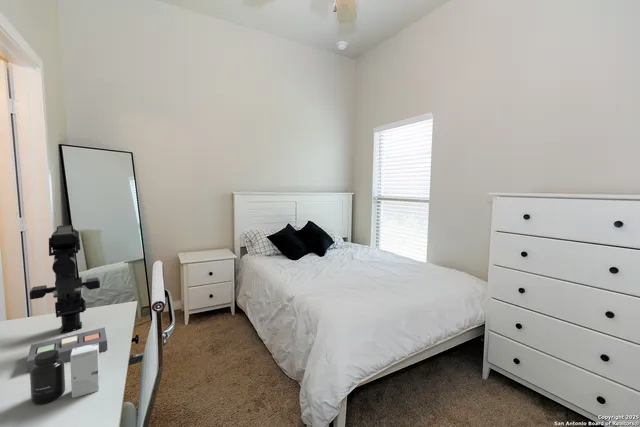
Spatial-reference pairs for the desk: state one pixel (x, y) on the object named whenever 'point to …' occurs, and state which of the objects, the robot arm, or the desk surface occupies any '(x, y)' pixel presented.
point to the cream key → (69, 341)
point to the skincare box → (85, 370)
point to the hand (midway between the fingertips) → (68, 310)
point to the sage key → (46, 348)
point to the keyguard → (66, 351)
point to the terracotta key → (91, 337)
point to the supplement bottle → (47, 378)
